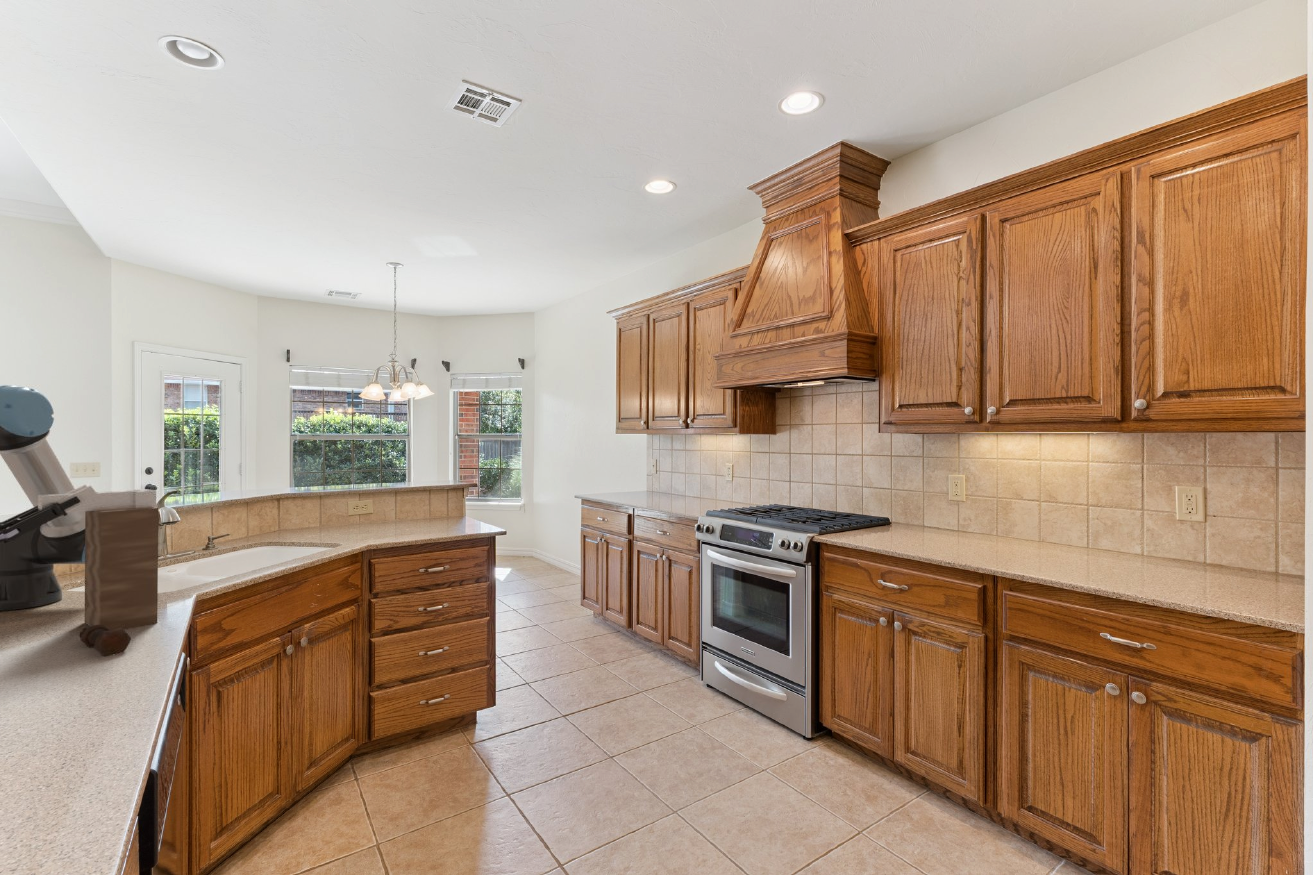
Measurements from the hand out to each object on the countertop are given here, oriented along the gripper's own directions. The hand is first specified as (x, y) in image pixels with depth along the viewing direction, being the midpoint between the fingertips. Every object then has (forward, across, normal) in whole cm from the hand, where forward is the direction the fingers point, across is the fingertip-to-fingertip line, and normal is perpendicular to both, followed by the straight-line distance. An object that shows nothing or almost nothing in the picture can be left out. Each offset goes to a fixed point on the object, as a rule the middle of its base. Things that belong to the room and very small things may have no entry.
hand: (91, 490), depth 144 cm
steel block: (-1, 0, -5) cm, 5 cm away
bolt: (-18, +19, -28) cm, 38 cm away
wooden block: (-11, 0, -31) cm, 33 cm away
